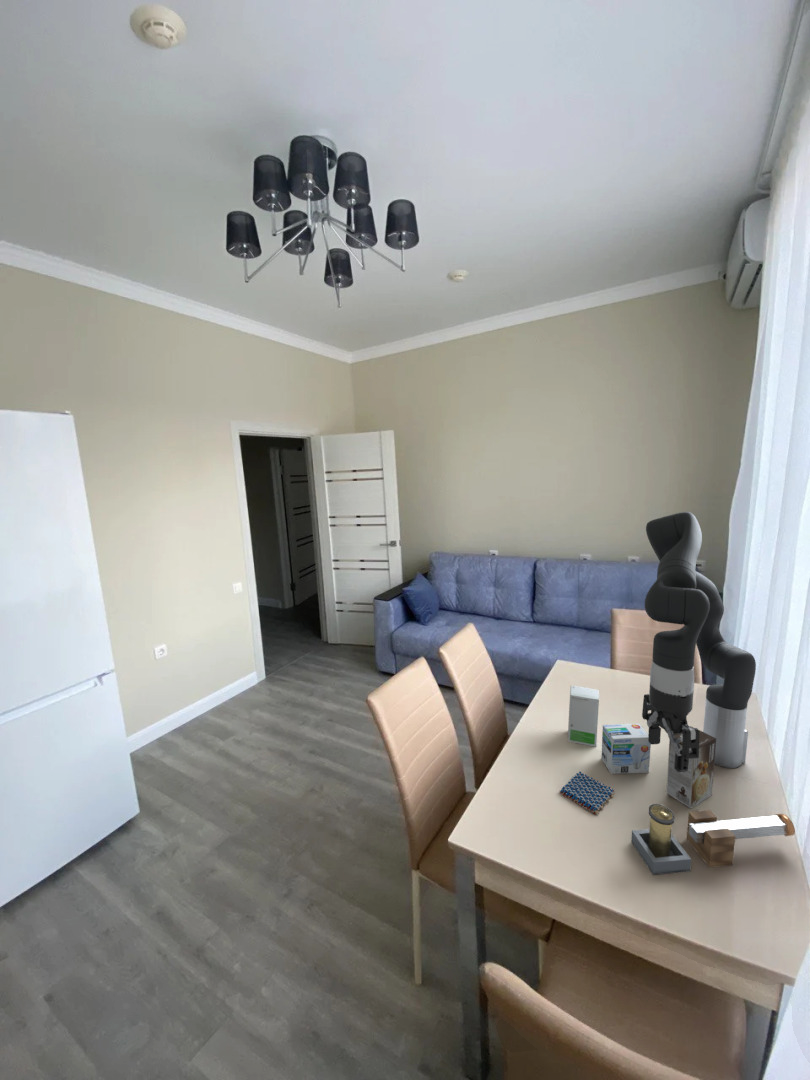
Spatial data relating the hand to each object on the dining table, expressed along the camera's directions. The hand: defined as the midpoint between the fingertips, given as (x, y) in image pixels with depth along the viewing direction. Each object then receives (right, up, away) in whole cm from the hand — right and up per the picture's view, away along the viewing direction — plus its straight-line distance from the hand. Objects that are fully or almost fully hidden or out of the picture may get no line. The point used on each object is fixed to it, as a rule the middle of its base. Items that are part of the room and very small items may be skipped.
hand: (666, 756), depth 91 cm
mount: (+12, -23, +5) cm, 26 cm away
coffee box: (+18, -20, +21) cm, 34 cm away
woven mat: (-7, -21, +23) cm, 32 cm away
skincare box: (+1, -17, +45) cm, 48 cm away
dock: (+1, -24, +4) cm, 24 cm away
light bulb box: (+7, -19, +32) cm, 38 cm away
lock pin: (+18, -20, +4) cm, 27 cm away
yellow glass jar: (+1, -23, +4) cm, 24 cm away
